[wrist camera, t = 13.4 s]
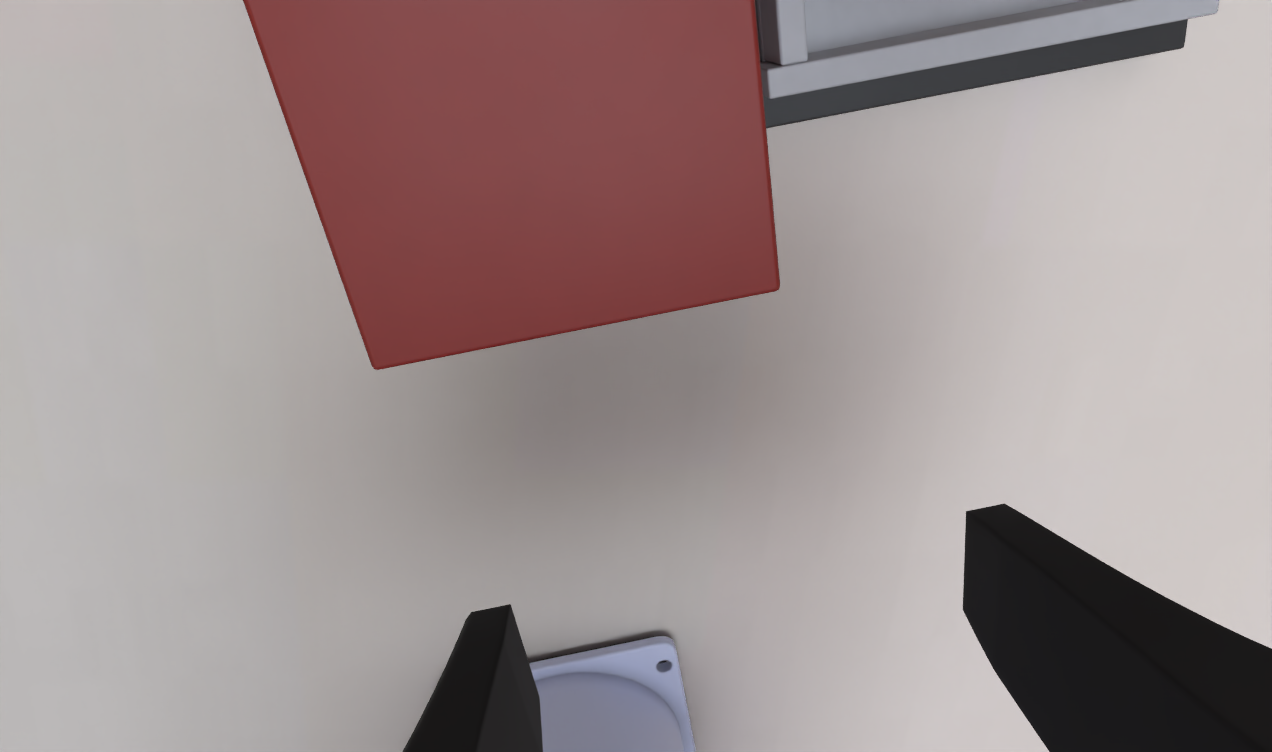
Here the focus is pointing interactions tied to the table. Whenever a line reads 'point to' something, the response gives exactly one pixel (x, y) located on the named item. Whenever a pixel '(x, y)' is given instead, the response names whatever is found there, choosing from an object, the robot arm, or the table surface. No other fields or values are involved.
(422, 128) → the coffee maker
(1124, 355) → the table surface
